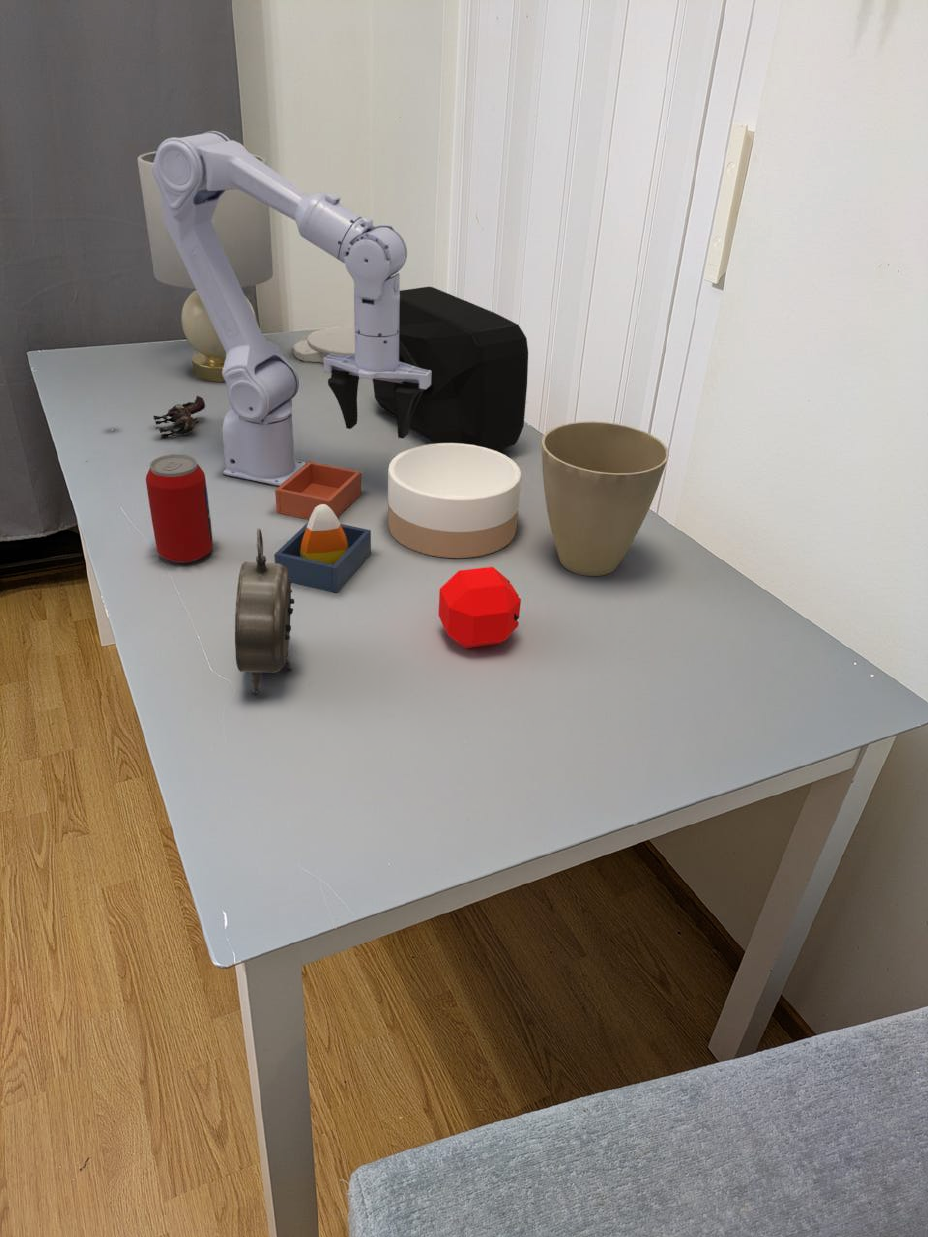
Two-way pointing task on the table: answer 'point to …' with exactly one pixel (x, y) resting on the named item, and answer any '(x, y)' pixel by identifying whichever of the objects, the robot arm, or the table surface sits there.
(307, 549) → the candy corn
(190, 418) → the horse figurine
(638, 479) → the plant pot
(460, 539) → the bowl
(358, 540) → the slate bin
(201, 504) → the beverage can
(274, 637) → the alarm clock
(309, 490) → the terracotta bin
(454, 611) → the ball
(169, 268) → the lamp
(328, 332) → the lid
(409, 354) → the black hard case
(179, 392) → the table surface
